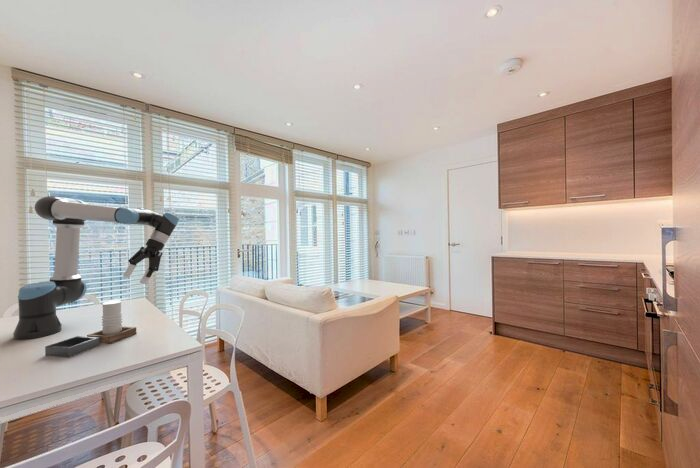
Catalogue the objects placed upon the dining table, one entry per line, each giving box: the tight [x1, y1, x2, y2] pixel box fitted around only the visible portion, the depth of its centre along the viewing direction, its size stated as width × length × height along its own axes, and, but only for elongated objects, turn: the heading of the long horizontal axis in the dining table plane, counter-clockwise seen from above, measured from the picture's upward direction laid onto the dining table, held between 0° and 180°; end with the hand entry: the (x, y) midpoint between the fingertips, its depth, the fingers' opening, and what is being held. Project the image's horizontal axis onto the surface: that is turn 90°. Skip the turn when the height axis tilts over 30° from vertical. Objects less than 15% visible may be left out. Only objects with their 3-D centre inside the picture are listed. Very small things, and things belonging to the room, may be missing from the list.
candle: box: [101, 300, 123, 336], centre depth 127 cm, size 7×7×15 cm
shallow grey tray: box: [44, 335, 100, 359], centre depth 113 cm, size 11×11×4 cm
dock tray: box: [86, 326, 137, 345], centre depth 127 cm, size 12×12×3 cm
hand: (134, 280), depth 139 cm, fingers open, 13 cm apart
